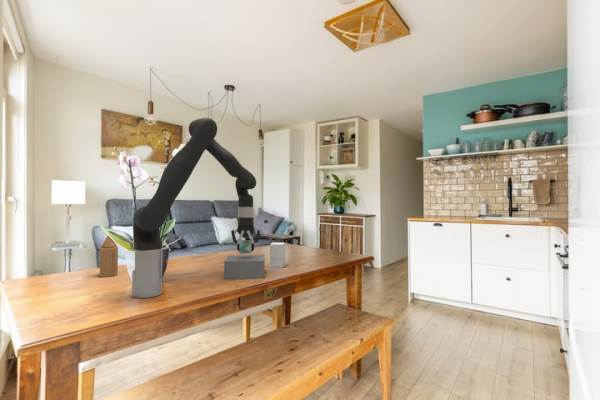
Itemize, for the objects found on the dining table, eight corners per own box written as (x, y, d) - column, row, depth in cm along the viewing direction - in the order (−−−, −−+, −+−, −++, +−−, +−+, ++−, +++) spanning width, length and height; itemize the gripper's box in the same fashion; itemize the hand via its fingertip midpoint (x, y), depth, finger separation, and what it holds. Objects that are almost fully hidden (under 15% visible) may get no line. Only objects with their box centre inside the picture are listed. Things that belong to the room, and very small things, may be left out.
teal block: (239, 253, 140) (239, 241, 140) (240, 251, 146) (240, 240, 146) (251, 253, 141) (251, 241, 141) (251, 251, 146) (251, 240, 146)
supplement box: (285, 265, 164) (285, 242, 164) (283, 268, 157) (283, 244, 157) (272, 264, 165) (272, 242, 165) (269, 267, 158) (269, 243, 158)
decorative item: (99, 277, 136) (99, 234, 136) (101, 274, 142) (101, 232, 142) (116, 276, 139) (116, 233, 139) (117, 272, 145) (118, 231, 145)
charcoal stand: (224, 279, 134) (224, 261, 134) (228, 270, 150) (228, 254, 150) (264, 278, 136) (264, 260, 136) (264, 270, 152) (264, 254, 152)
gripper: (229, 216, 139) (229, 253, 139) (260, 216, 140) (260, 252, 140) (231, 216, 146) (231, 250, 146) (261, 215, 148) (260, 249, 148)
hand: (245, 251), depth 143 cm, fingers closed on teal block, 5 cm apart
